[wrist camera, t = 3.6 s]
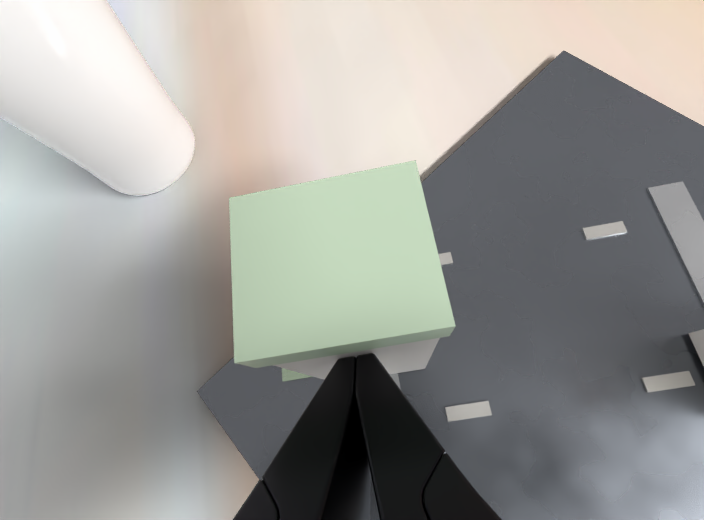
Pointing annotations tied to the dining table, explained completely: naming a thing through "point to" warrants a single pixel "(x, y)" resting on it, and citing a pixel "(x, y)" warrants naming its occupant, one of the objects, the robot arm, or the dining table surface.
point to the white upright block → (337, 273)
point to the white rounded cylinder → (90, 94)
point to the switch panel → (551, 311)
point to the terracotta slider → (698, 343)
